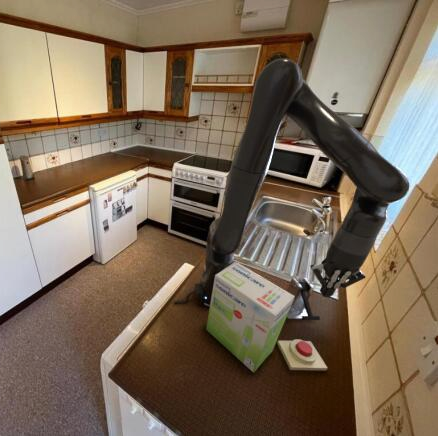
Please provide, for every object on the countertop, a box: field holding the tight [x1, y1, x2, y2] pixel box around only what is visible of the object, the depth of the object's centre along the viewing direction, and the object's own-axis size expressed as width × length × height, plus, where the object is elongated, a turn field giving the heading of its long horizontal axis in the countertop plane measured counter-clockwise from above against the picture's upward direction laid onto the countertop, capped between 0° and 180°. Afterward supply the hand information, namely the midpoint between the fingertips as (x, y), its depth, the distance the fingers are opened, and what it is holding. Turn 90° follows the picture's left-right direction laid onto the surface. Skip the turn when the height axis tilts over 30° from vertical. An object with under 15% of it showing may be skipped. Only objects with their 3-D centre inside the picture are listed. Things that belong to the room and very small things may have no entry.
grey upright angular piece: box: [286, 277, 315, 320], centre depth 83 cm, size 10×8×13 cm
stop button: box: [296, 340, 312, 357], centre depth 68 cm, size 4×4×2 cm
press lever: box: [298, 280, 321, 321], centre depth 78 cm, size 12×5×2 cm
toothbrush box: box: [205, 261, 295, 374], centre depth 69 cm, size 18×10×24 cm, turn 37°
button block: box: [276, 339, 328, 371], centre depth 69 cm, size 10×8×4 cm
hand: (324, 295), depth 68 cm, fingers closed
